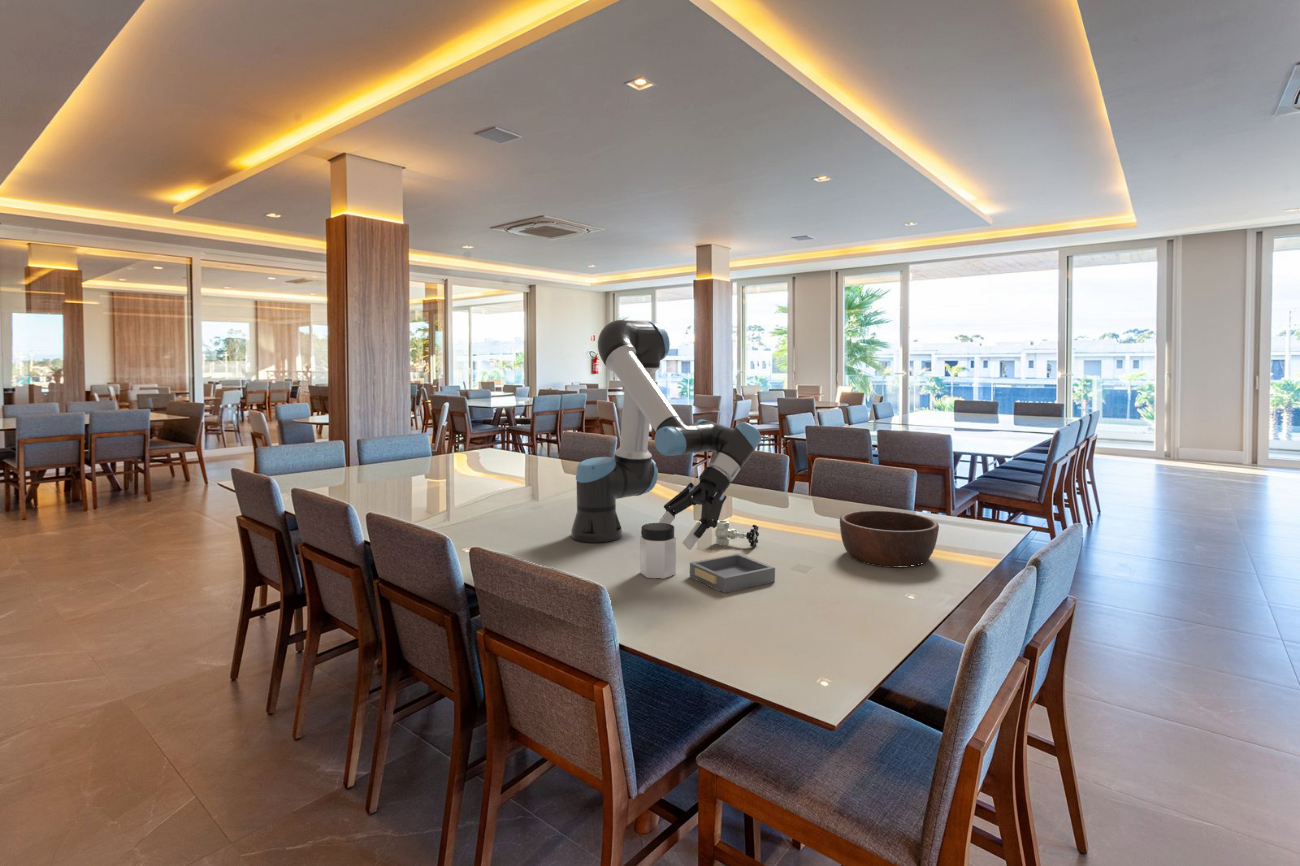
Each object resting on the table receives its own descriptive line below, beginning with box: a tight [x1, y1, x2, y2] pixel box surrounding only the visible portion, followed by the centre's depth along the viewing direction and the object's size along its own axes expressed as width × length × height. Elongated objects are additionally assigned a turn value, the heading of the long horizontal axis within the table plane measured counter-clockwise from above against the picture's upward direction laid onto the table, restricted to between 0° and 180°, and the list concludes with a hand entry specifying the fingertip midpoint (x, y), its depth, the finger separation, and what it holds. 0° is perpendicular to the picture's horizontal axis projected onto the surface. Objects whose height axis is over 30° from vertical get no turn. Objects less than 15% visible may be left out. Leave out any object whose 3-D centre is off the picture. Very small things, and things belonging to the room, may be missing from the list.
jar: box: [639, 522, 677, 580], centre depth 169 cm, size 9×8×12 cm
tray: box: [689, 553, 776, 594], centre depth 164 cm, size 14×16×4 cm
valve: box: [714, 519, 760, 548], centre depth 195 cm, size 7×7×12 cm
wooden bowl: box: [839, 509, 940, 567], centre depth 182 cm, size 25×25×10 cm
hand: (670, 540), depth 169 cm, fingers open, 13 cm apart
